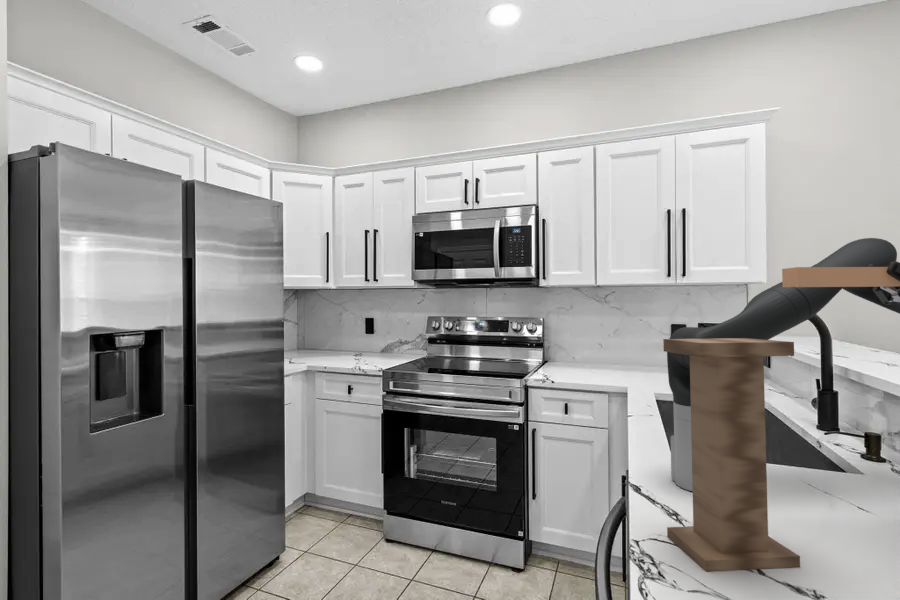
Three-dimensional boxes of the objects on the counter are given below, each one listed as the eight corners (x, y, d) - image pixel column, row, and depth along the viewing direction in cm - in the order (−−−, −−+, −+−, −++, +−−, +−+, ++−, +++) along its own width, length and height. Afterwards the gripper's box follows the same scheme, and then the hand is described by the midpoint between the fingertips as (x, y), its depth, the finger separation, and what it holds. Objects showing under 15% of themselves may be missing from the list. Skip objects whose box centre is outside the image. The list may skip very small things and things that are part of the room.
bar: (907, 286, 76) (906, 268, 76) (927, 285, 73) (926, 266, 74) (782, 287, 75) (782, 268, 75) (797, 286, 72) (797, 267, 72)
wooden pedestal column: (749, 533, 75) (744, 338, 76) (800, 566, 65) (793, 341, 66) (667, 536, 74) (663, 339, 75) (706, 571, 64) (700, 343, 65)
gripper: (928, 300, 83) (848, 253, 82) (1032, 298, 69) (938, 241, 68) (910, 337, 82) (830, 289, 81) (1011, 342, 68) (916, 285, 67)
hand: (879, 267), depth 75 cm, fingers closed on bar, 3 cm apart
